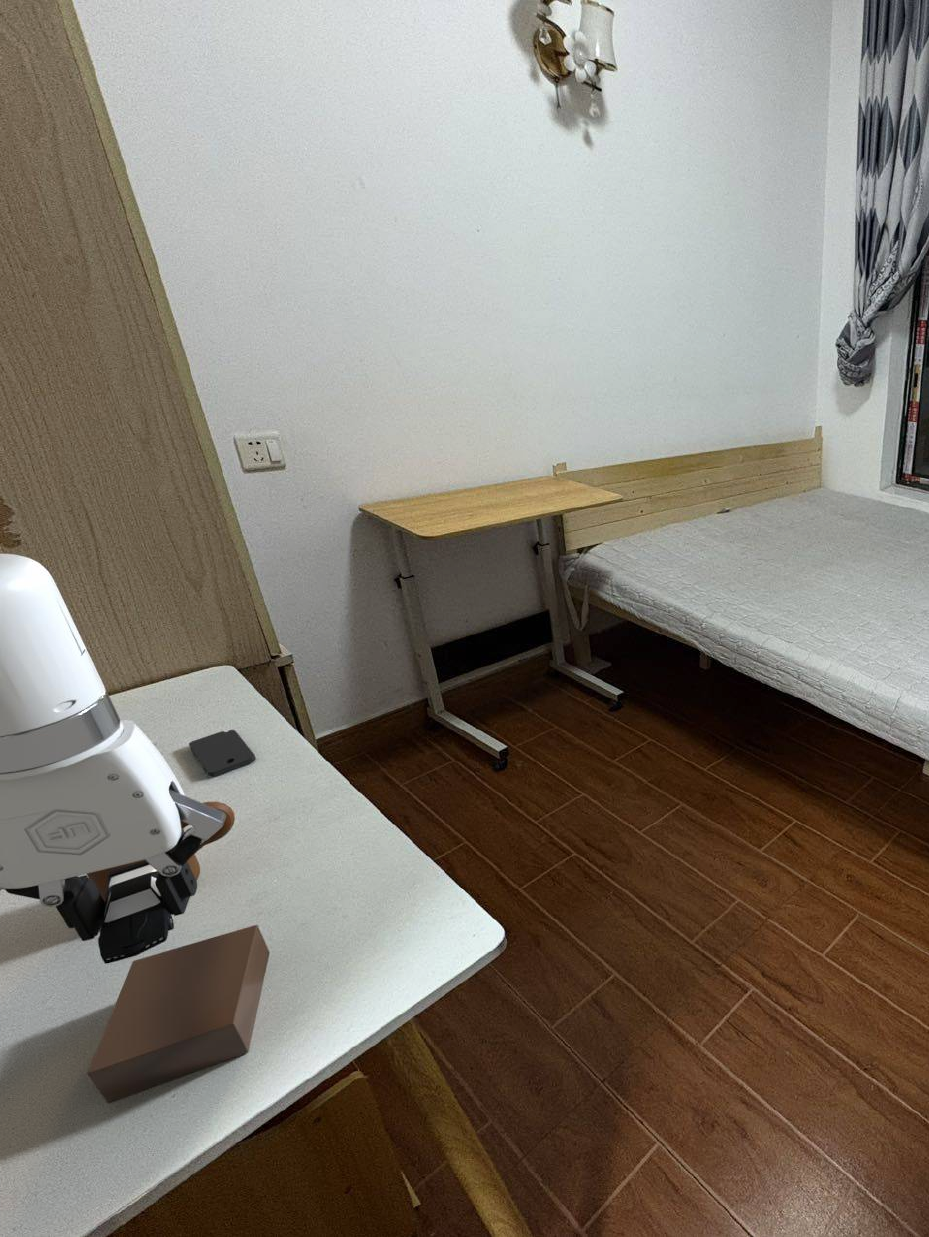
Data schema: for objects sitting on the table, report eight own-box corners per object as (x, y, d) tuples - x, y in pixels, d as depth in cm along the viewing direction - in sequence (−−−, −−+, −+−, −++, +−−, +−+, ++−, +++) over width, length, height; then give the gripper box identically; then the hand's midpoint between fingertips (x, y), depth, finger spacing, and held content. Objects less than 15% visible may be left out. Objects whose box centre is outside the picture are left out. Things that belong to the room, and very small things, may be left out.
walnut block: (107, 1103, 54) (86, 1073, 52) (149, 989, 62) (132, 960, 61) (248, 1052, 58) (233, 1023, 56) (269, 952, 66) (257, 924, 65)
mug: (255, 839, 79) (229, 776, 75) (250, 882, 74) (222, 816, 70) (115, 879, 73) (79, 813, 69) (99, 930, 68) (58, 861, 63)
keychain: (232, 727, 97) (255, 756, 91) (234, 731, 97) (257, 760, 92) (187, 742, 93) (208, 773, 88) (189, 746, 93) (210, 777, 88)
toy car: (174, 947, 53) (162, 923, 51) (102, 975, 50) (87, 951, 49) (177, 868, 59) (166, 845, 58) (113, 890, 57) (100, 867, 56)
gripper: (-186, 797, 40) (-34, 996, 48) (185, 729, 48) (263, 910, 56) (-110, 730, 46) (14, 917, 54) (210, 679, 54) (277, 850, 61)
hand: (140, 912), depth 55 cm, fingers closed on toy car, 4 cm apart
